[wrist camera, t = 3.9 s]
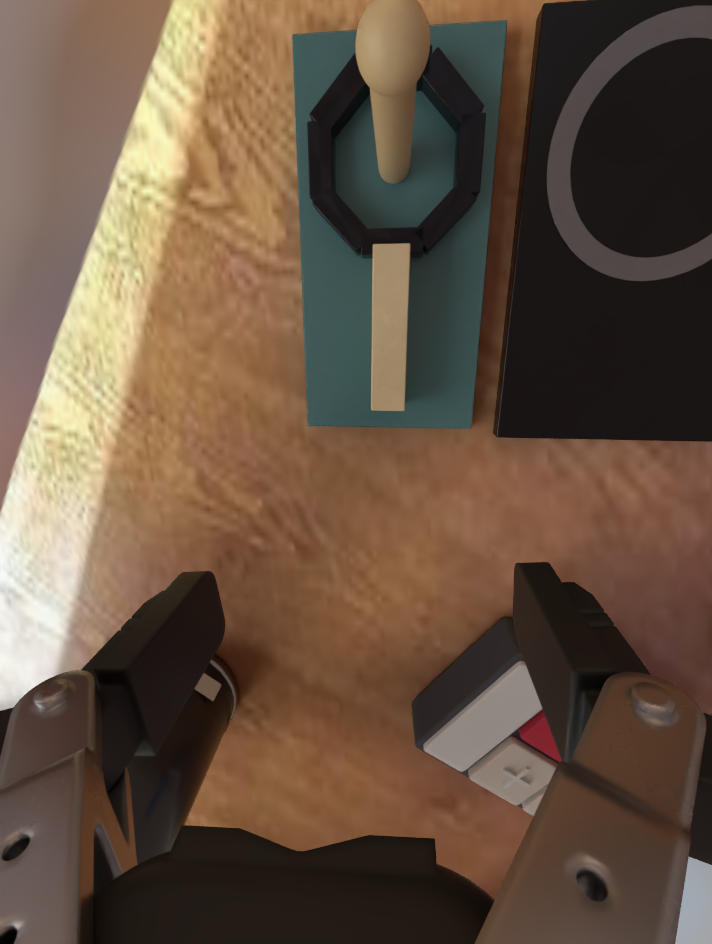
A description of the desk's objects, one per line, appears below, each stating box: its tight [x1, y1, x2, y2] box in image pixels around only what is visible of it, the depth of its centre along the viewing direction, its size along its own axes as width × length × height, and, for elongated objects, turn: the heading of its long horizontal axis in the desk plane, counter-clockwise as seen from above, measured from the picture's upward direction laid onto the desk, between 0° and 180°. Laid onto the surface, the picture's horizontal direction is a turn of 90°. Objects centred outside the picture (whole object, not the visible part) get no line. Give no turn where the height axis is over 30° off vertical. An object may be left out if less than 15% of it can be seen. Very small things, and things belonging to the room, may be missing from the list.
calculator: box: [412, 618, 562, 816], centre depth 31 cm, size 11×4×15 cm
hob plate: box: [493, 0, 712, 442], centre depth 22 cm, size 13×20×1 cm, turn 0°
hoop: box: [307, 44, 486, 411], centre depth 21 cm, size 16×8×3 cm, turn 0°
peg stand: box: [292, 0, 507, 429], centre depth 18 cm, size 10×19×11 cm, turn 0°
